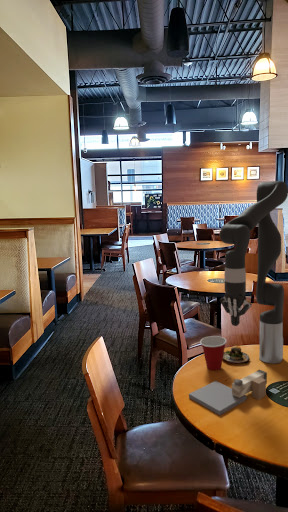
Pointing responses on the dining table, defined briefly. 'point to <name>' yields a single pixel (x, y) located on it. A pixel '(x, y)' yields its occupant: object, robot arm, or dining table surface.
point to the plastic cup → (213, 351)
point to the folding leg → (246, 383)
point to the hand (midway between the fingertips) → (235, 325)
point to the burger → (236, 355)
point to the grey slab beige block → (225, 395)
